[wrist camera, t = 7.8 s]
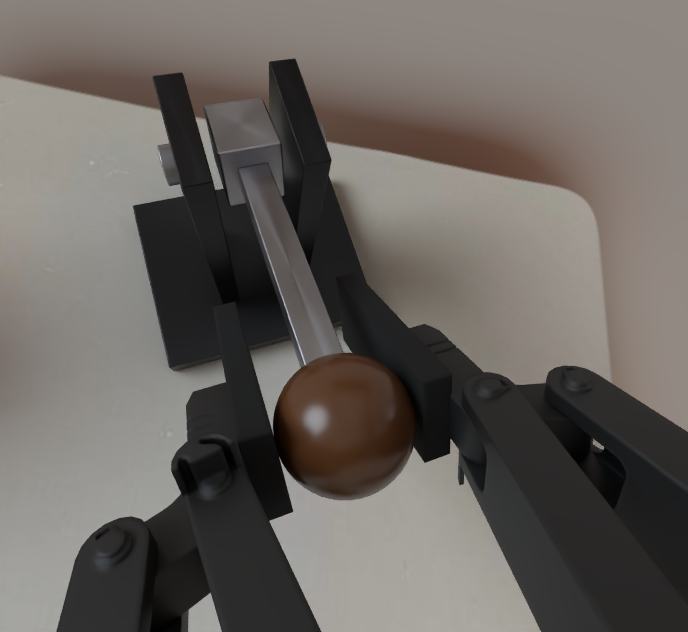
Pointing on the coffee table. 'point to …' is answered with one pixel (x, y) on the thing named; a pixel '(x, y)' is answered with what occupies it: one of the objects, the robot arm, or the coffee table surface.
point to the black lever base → (237, 227)
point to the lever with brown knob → (311, 333)
